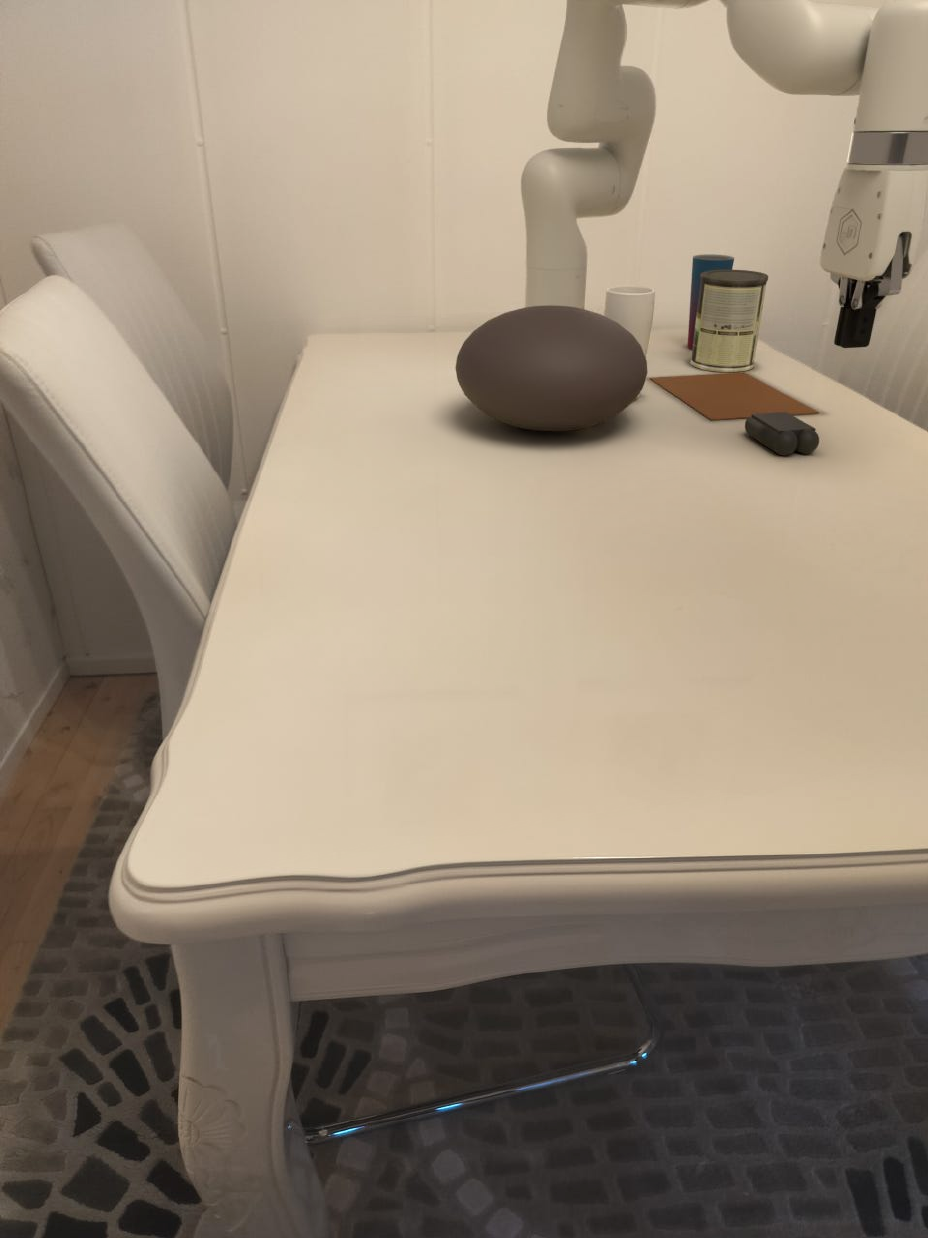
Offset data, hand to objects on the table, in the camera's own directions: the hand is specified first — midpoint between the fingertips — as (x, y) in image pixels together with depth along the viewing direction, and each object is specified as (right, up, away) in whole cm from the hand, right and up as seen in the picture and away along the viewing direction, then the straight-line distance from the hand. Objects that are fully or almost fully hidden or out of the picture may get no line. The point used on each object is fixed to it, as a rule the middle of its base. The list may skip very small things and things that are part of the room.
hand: (851, 345), depth 95 cm
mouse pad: (-3, +4, +35) cm, 36 cm away
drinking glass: (-19, +3, +34) cm, 39 cm away
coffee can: (+1, +12, +51) cm, 53 cm away
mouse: (-2, -7, +16) cm, 18 cm away
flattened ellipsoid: (-30, -3, +23) cm, 39 cm away
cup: (0, +18, +62) cm, 64 cm away
